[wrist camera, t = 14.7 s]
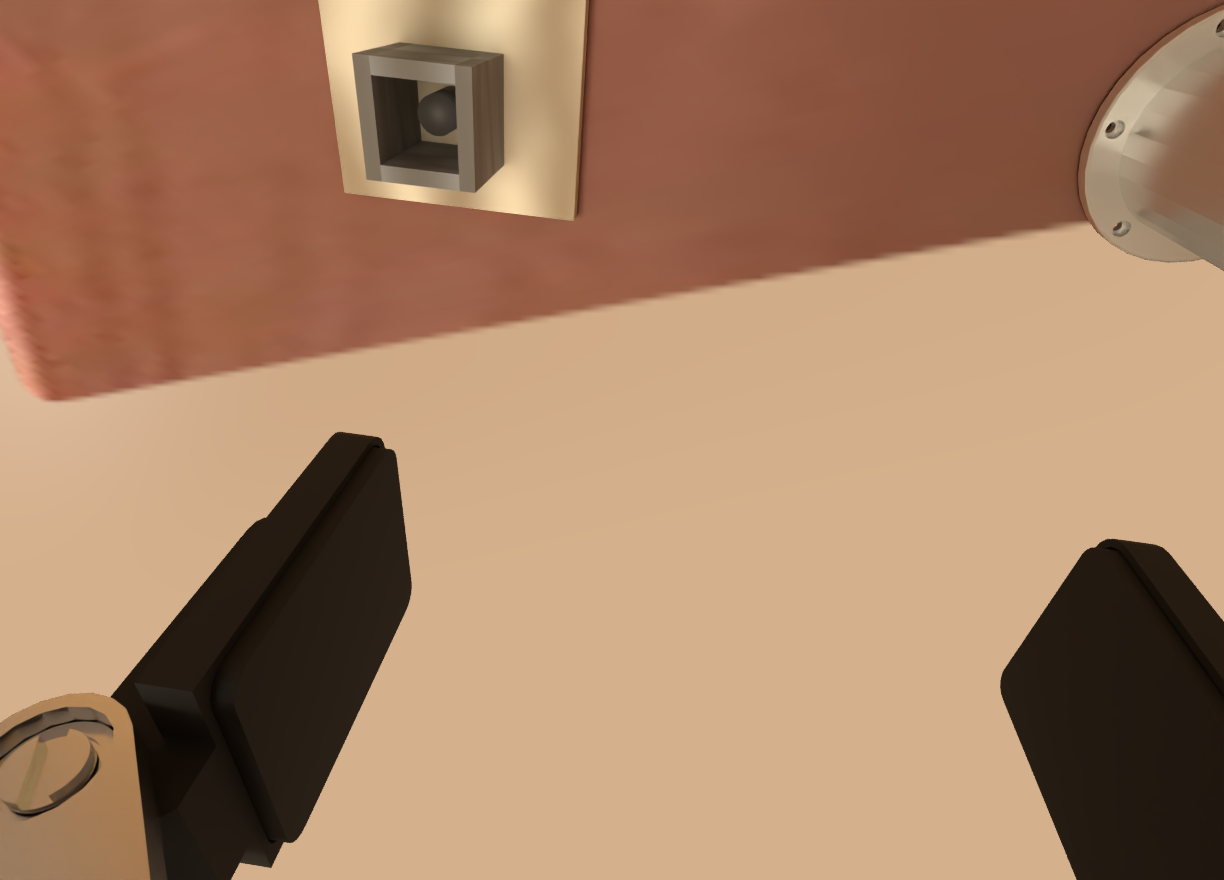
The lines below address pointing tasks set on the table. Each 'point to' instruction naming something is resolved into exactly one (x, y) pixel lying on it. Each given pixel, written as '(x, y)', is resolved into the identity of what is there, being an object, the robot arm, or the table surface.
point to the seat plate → (460, 100)
